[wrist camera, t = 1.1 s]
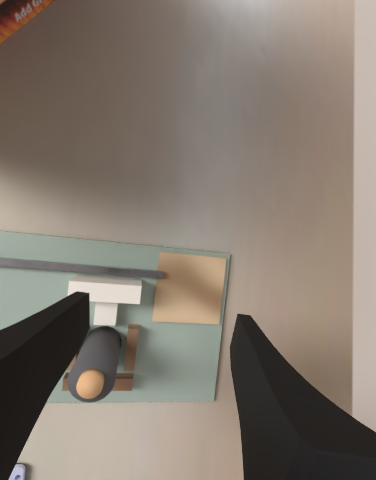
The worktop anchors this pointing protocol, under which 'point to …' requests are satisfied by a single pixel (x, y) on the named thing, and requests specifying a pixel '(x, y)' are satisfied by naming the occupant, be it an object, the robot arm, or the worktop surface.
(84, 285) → the white t-shaped block
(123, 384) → the cradle
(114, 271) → the rail
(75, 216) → the worktop surface
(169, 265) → the plate
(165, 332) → the mat
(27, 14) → the pasta box
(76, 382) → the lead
